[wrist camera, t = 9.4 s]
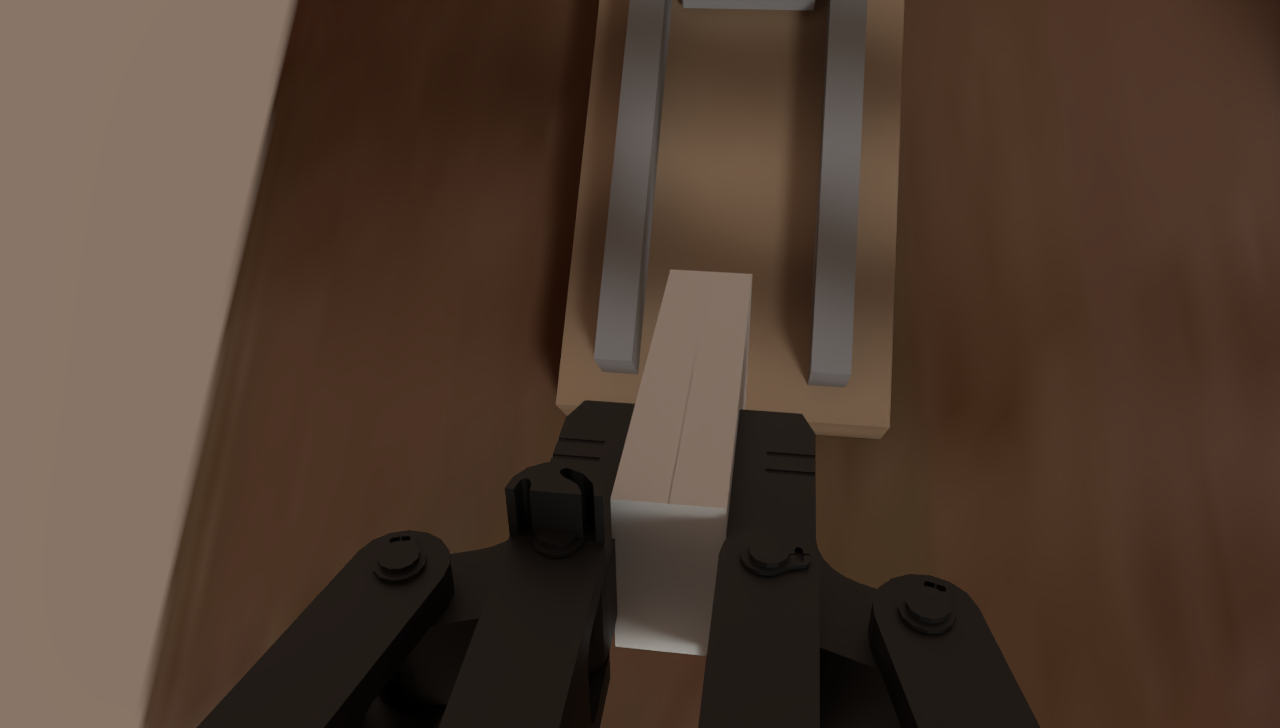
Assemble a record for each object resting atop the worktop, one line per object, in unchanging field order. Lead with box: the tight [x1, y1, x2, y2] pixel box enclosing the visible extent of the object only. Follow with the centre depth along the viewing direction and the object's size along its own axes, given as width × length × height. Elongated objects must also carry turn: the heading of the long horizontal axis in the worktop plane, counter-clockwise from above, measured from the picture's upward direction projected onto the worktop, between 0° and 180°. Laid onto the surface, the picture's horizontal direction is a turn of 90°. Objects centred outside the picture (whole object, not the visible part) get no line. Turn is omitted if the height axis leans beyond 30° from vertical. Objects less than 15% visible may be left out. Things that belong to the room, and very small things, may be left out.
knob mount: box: [556, 0, 904, 439], centre depth 29 cm, size 20×9×5 cm, turn 175°
